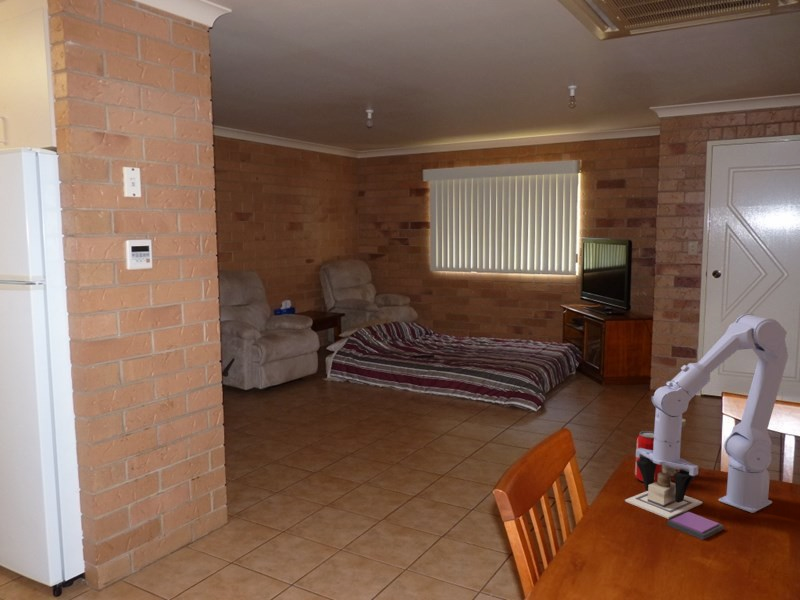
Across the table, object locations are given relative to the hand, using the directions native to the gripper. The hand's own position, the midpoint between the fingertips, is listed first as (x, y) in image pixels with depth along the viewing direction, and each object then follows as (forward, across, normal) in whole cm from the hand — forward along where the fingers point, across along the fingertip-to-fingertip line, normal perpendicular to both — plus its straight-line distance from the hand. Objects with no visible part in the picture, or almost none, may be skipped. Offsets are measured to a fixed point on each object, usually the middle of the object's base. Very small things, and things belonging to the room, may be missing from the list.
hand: (663, 495), depth 148 cm
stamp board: (+2, 0, 0) cm, 2 cm away
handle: (+2, -9, +17) cm, 19 cm away
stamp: (+1, 0, 0) cm, 1 cm away
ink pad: (+2, +11, -6) cm, 13 cm away
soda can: (+2, -10, +9) cm, 14 cm away
